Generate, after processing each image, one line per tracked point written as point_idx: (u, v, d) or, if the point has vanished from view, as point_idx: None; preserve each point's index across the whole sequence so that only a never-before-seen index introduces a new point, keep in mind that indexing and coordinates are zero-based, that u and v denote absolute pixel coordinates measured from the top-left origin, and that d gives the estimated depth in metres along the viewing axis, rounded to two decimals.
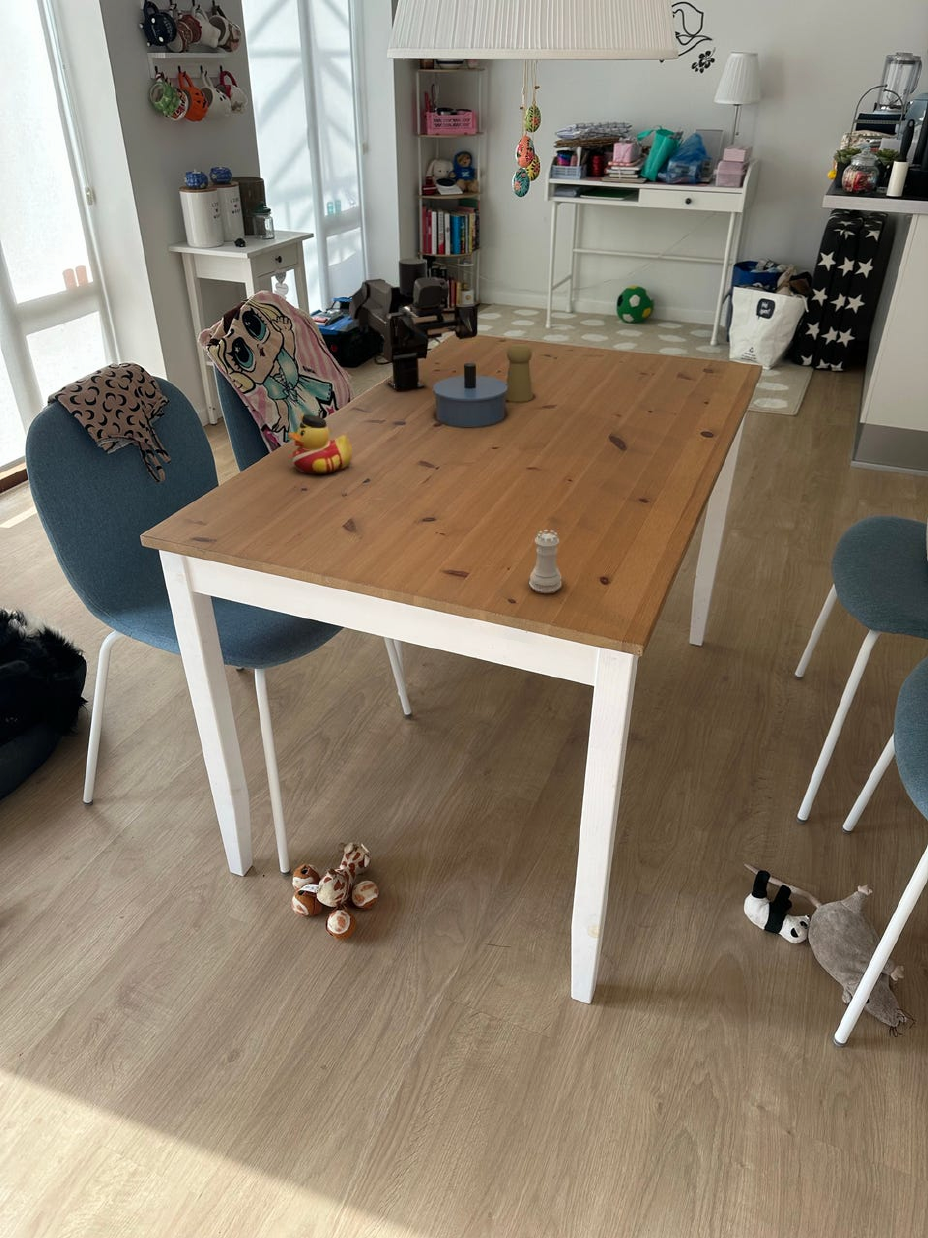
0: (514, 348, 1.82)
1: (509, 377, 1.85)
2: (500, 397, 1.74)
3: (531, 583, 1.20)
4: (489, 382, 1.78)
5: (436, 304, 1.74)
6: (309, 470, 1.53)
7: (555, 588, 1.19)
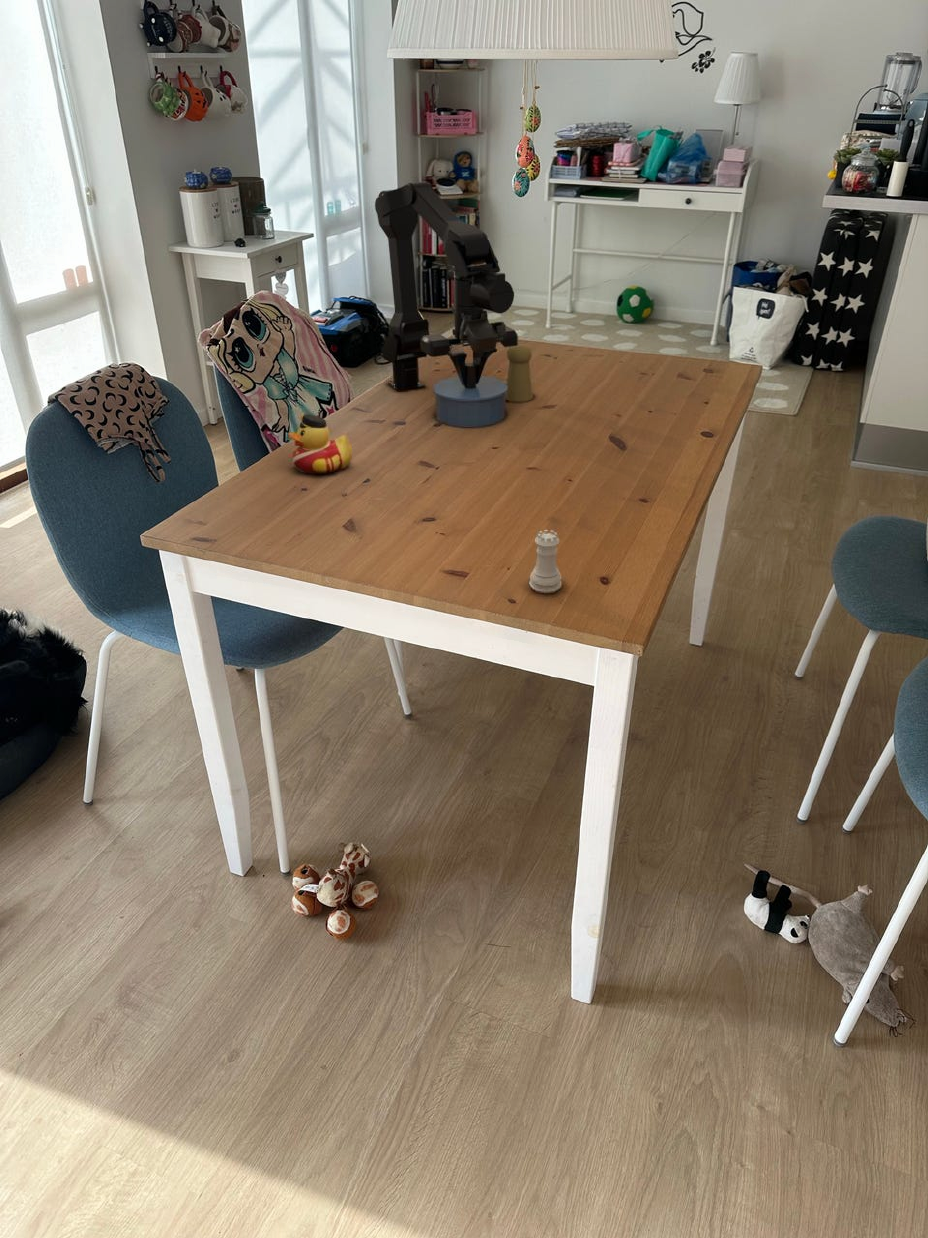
0: (514, 348, 1.82)
1: (509, 377, 1.85)
2: (500, 397, 1.74)
3: (531, 583, 1.20)
4: (489, 382, 1.78)
5: None
6: (309, 470, 1.53)
7: (555, 588, 1.19)
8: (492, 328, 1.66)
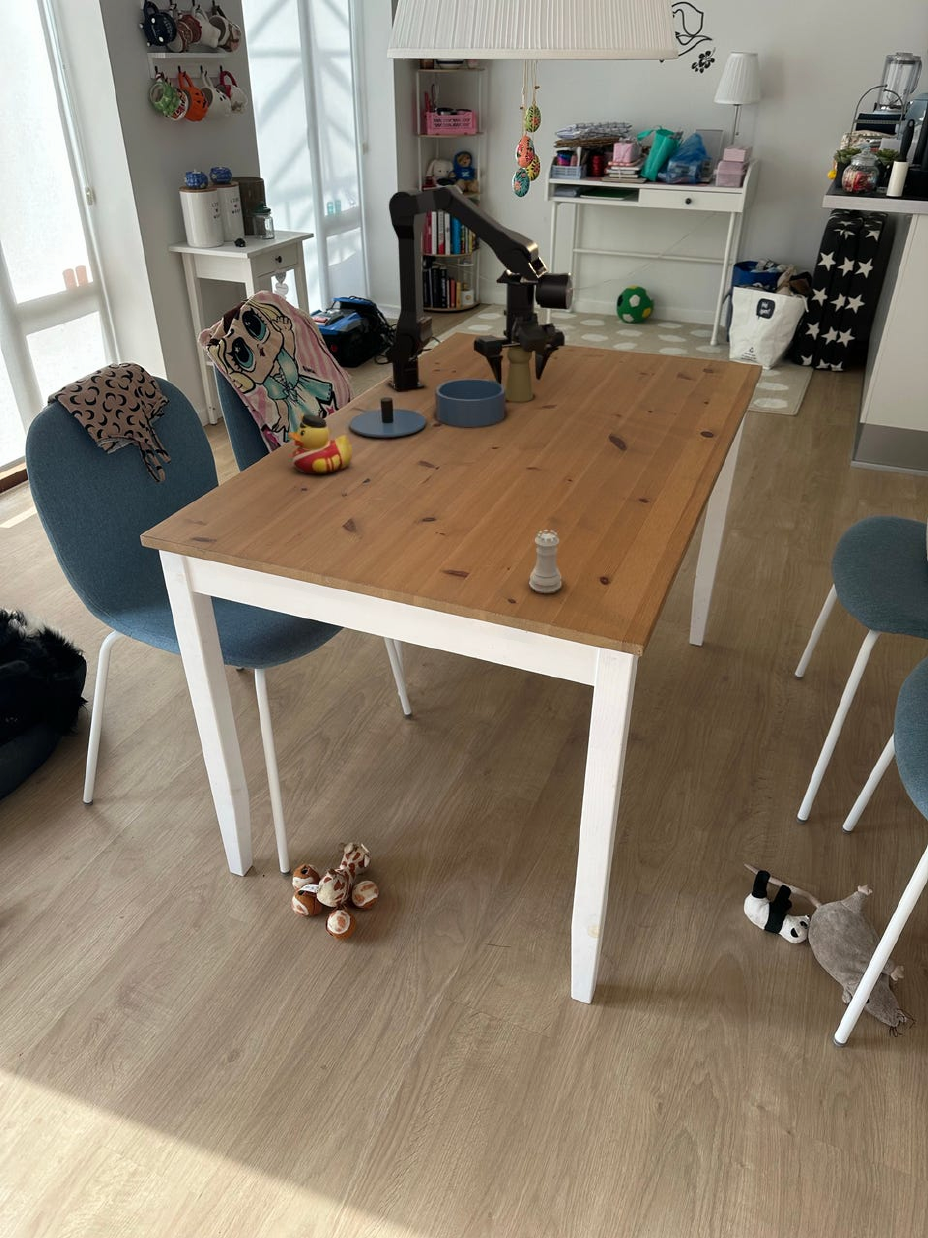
0: (514, 348, 1.82)
1: (509, 377, 1.85)
2: (500, 397, 1.74)
3: (531, 583, 1.20)
4: (408, 416, 1.76)
5: None
6: (309, 470, 1.53)
7: (555, 588, 1.19)
8: (542, 329, 1.77)
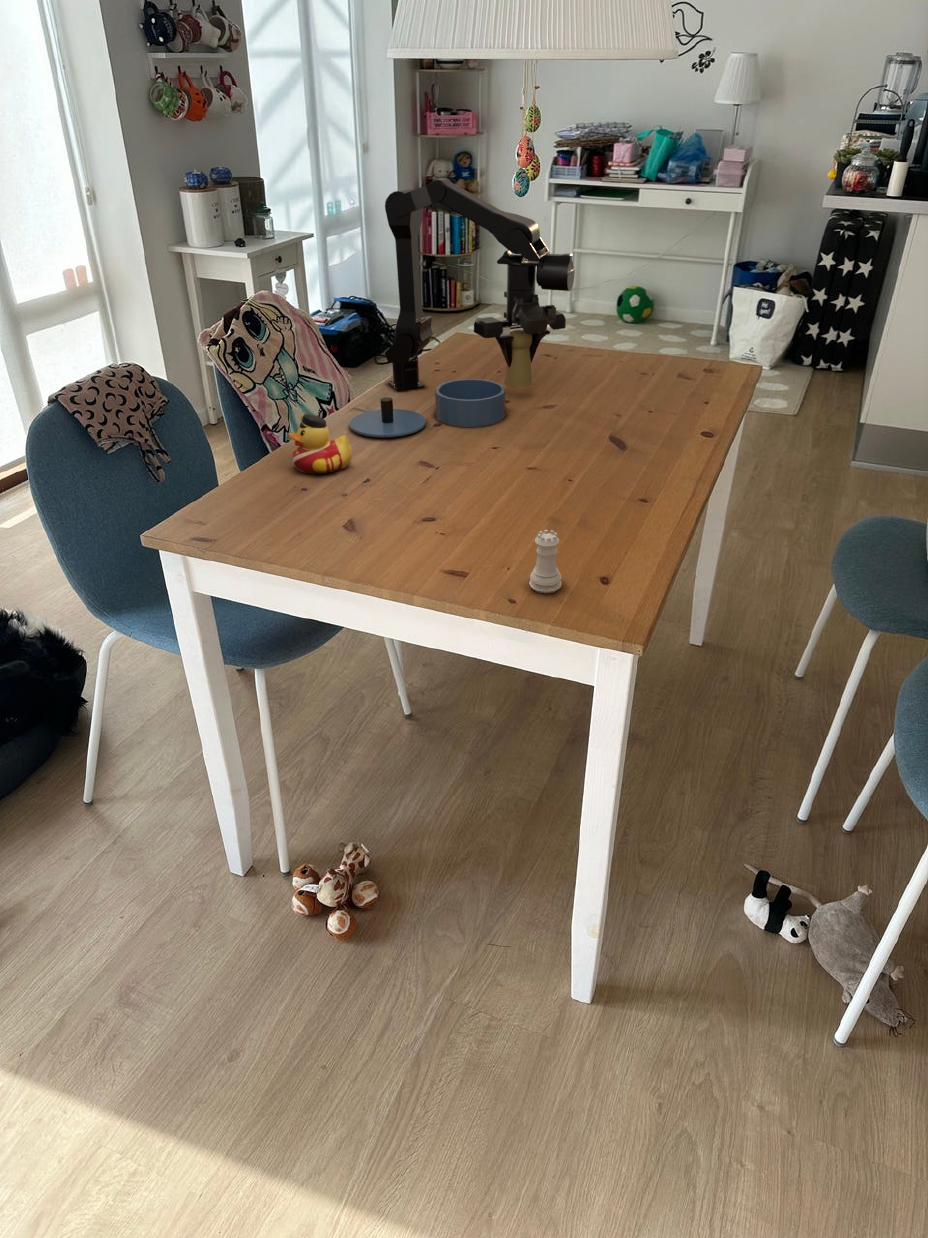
0: (514, 333, 1.81)
1: None
2: (500, 397, 1.74)
3: (531, 583, 1.20)
4: (408, 416, 1.76)
5: None
6: (309, 470, 1.53)
7: (555, 588, 1.19)
8: (543, 311, 1.75)
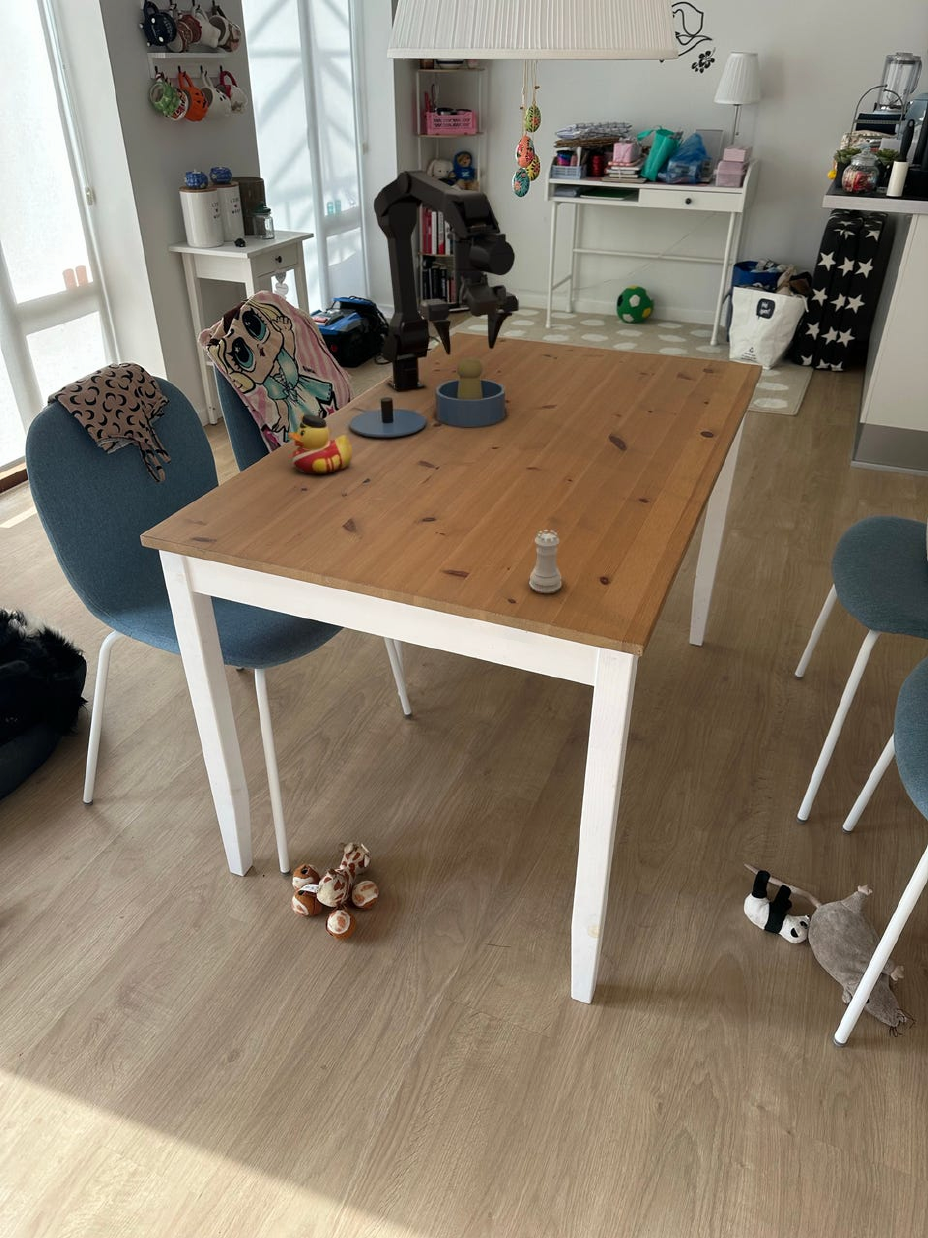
0: (463, 362, 1.73)
1: (459, 392, 1.76)
2: (500, 397, 1.74)
3: (531, 583, 1.20)
4: (408, 416, 1.76)
5: None
6: (309, 470, 1.53)
7: (555, 588, 1.19)
8: (492, 292, 1.62)
